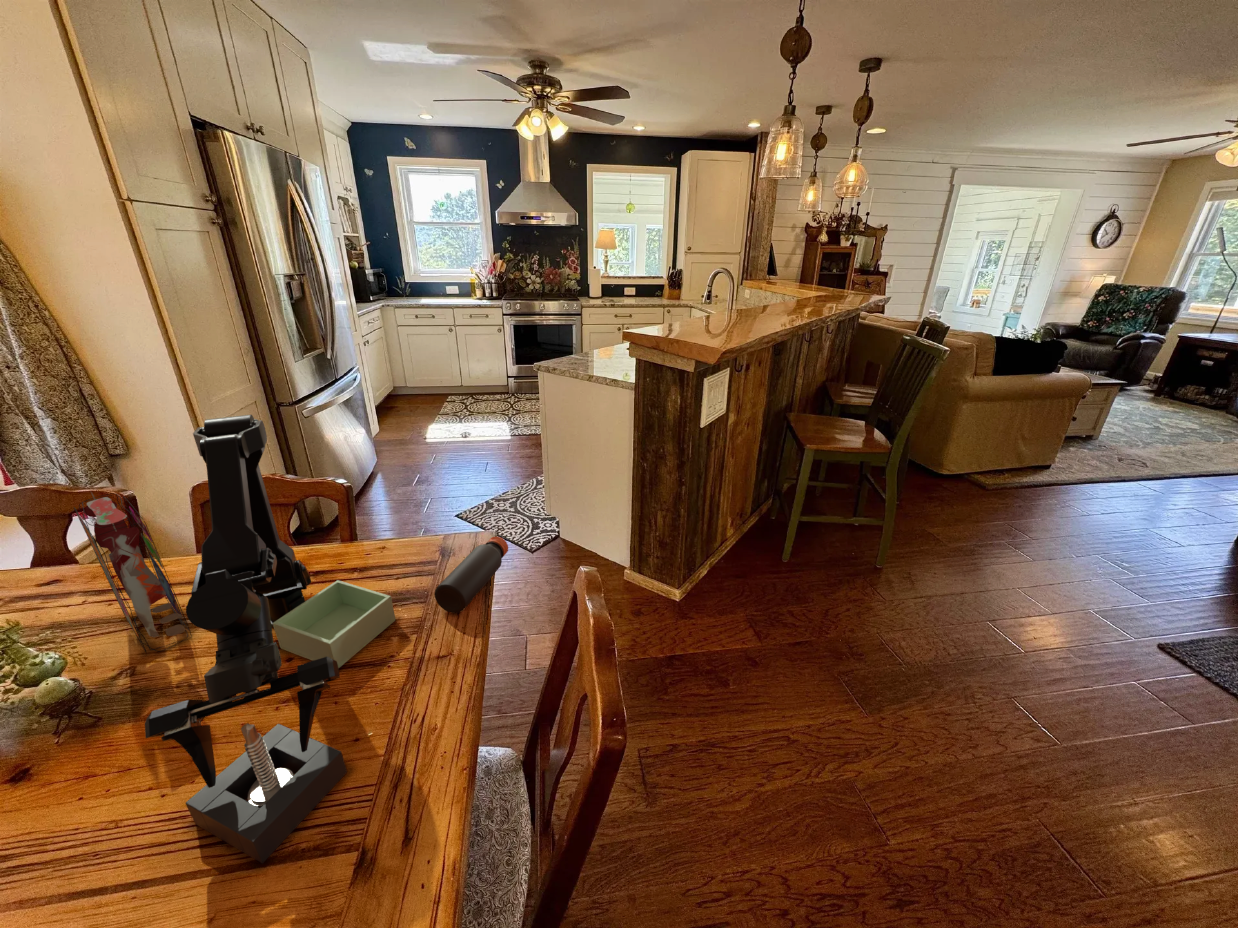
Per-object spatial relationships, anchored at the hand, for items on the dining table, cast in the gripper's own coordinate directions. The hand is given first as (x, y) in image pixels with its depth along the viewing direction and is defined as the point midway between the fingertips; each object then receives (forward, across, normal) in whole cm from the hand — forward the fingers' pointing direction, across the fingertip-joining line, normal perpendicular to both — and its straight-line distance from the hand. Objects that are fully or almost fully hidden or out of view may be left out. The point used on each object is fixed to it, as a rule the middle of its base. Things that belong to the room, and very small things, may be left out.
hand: (259, 768), depth 59 cm
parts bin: (-17, +8, +26) cm, 32 cm away
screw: (+4, 0, +6) cm, 7 cm away
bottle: (-16, +27, +21) cm, 38 cm away
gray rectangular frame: (+4, 0, +6) cm, 7 cm away
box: (-32, -23, +41) cm, 57 cm away
